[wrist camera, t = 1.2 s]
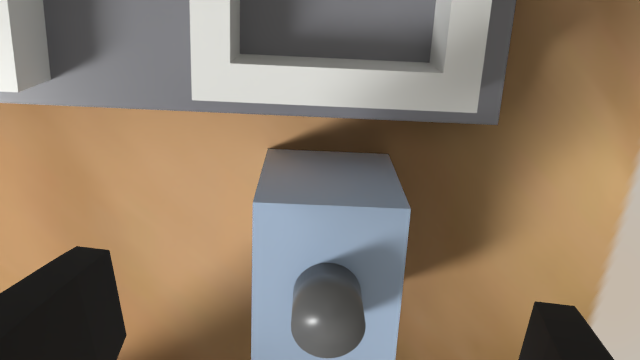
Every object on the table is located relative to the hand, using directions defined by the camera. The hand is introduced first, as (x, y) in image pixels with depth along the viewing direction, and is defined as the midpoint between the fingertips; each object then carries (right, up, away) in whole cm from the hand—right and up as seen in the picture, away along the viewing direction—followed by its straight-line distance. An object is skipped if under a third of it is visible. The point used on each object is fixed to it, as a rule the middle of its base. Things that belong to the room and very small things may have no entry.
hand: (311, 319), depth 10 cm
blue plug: (0, +1, +10) cm, 10 cm away
